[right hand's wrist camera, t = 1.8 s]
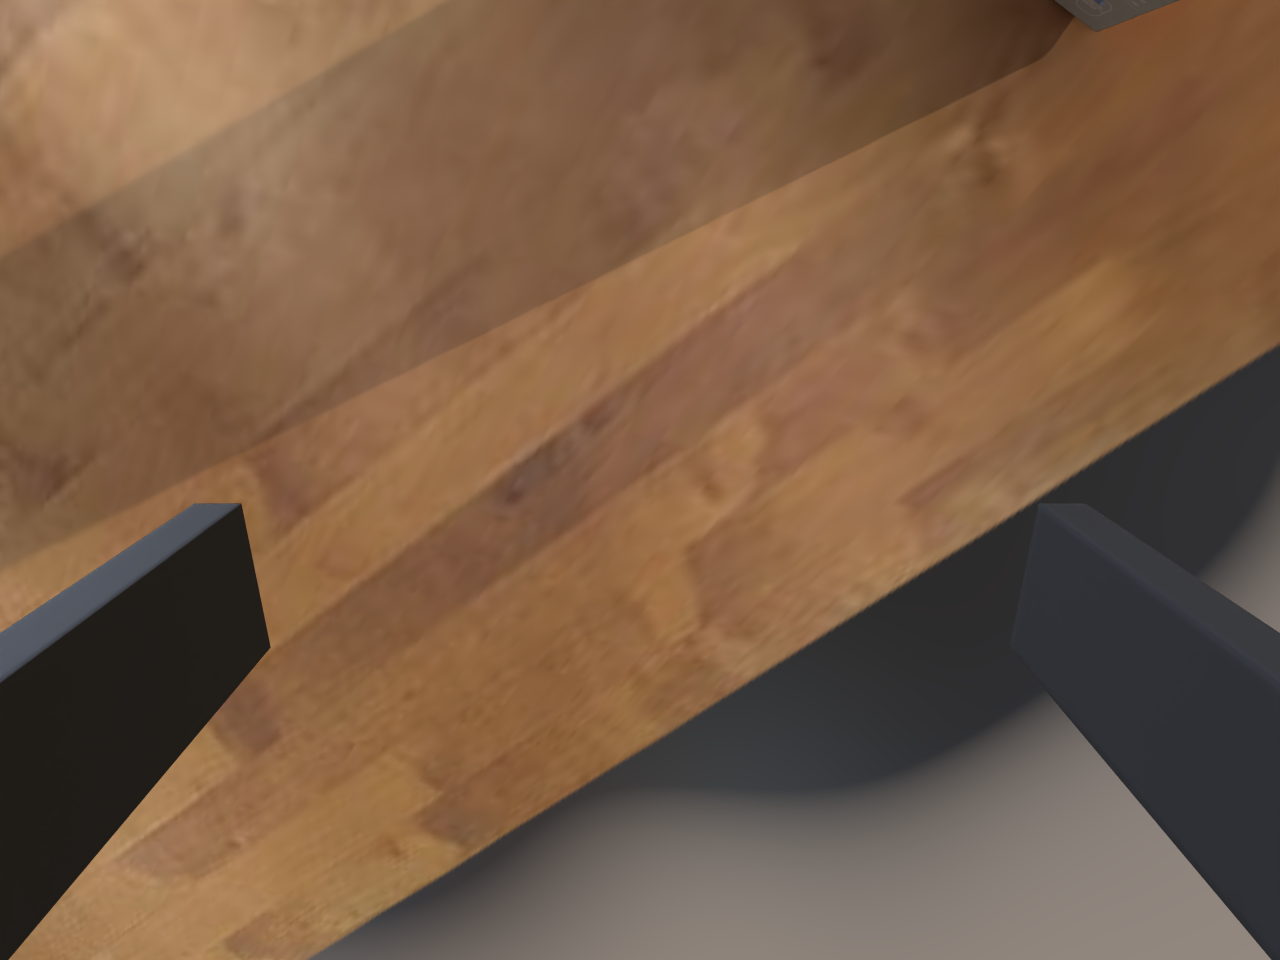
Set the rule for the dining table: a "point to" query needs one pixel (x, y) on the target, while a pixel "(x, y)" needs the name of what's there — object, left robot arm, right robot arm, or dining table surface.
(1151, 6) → the hard drive box
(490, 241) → the dining table surface
